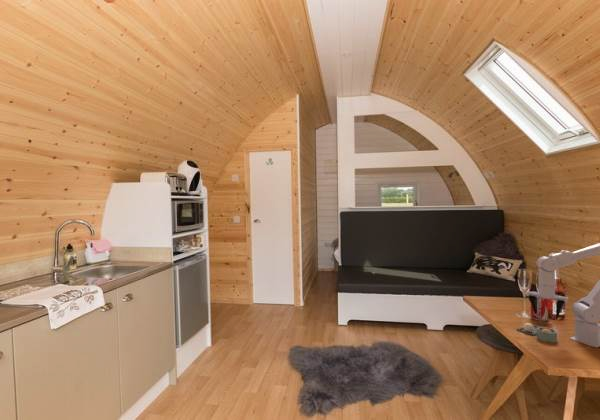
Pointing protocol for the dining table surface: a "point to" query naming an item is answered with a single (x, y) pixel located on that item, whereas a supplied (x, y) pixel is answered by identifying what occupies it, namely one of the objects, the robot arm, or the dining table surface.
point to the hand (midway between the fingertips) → (546, 315)
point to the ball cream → (528, 327)
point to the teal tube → (546, 334)
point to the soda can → (540, 310)
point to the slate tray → (529, 332)
